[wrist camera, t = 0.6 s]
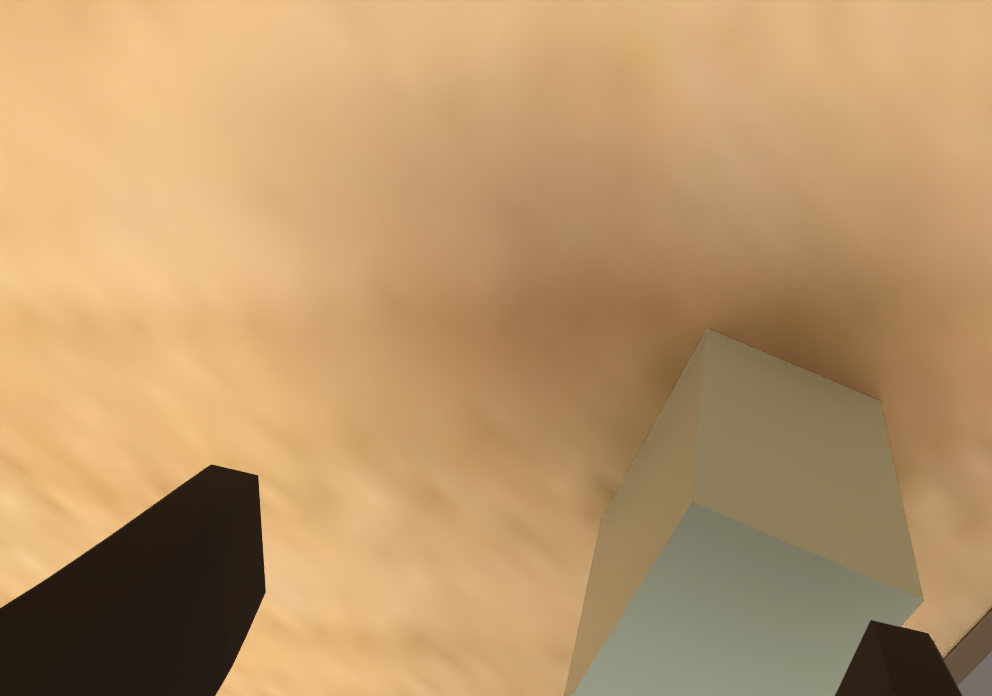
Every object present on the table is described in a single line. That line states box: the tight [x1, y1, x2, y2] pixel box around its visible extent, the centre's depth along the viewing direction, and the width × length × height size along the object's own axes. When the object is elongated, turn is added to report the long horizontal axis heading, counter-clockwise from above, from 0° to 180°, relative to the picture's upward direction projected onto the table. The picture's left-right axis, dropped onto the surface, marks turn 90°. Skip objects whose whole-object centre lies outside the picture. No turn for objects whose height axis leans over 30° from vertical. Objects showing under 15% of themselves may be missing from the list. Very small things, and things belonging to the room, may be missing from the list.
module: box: [564, 328, 924, 696], centre depth 19 cm, size 6×4×6 cm, turn 161°
